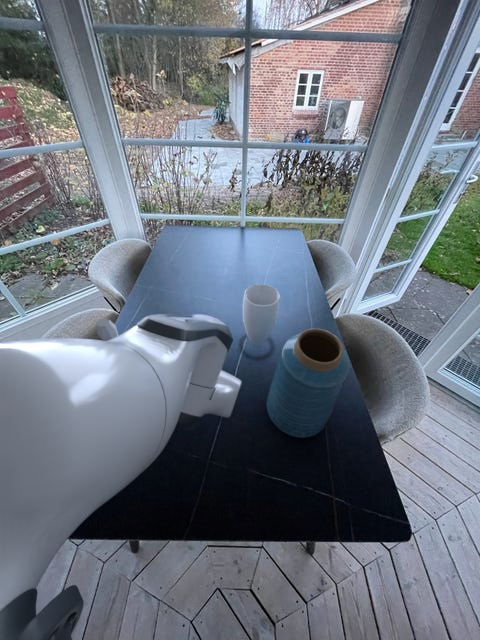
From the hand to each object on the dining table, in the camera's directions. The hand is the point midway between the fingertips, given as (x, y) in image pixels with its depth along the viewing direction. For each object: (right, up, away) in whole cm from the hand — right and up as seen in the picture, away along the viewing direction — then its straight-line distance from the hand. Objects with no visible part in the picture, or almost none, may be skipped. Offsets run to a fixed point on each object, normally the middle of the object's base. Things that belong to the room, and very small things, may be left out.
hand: (115, 352), depth 59 cm
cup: (+33, -1, +26) cm, 43 cm away
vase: (+43, -16, +12) cm, 48 cm away
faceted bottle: (+1, -9, +8) cm, 12 cm away
